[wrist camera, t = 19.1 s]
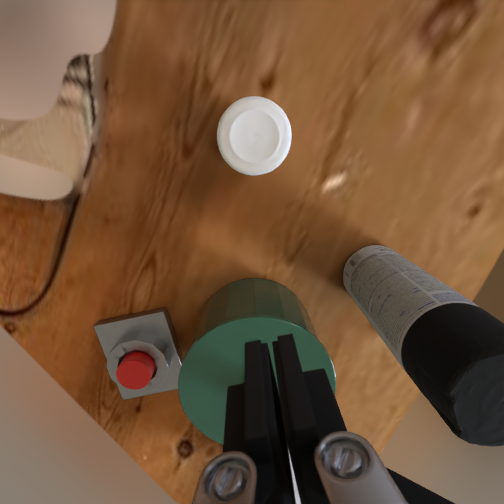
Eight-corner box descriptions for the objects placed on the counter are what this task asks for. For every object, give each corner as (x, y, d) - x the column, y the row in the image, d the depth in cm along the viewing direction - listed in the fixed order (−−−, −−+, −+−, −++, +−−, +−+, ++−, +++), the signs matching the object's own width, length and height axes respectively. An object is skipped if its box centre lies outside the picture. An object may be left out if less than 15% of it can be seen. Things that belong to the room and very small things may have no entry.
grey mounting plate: (97, 320, 38) (85, 334, 35) (166, 306, 37) (159, 319, 35) (126, 393, 41) (117, 411, 38) (189, 380, 40) (185, 397, 37)
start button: (117, 354, 36) (111, 364, 34) (149, 348, 36) (144, 357, 34) (127, 381, 37) (122, 392, 35) (159, 375, 37) (155, 386, 35)
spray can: (350, 308, 38) (456, 466, 19) (332, 255, 36) (431, 370, 17) (407, 288, 37) (577, 430, 18) (392, 233, 36) (564, 327, 16)
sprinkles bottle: (218, 136, 32) (200, 125, 20) (256, 107, 32) (264, 77, 19) (244, 176, 34) (245, 190, 21) (282, 149, 33) (307, 147, 20)
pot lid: (160, 329, 28) (134, 385, 22) (320, 296, 28) (344, 342, 21) (202, 452, 32) (190, 533, 25) (342, 426, 32) (369, 500, 25)
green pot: (186, 291, 37) (167, 336, 28) (298, 267, 36) (316, 305, 27) (214, 384, 41) (205, 452, 31) (316, 364, 40) (337, 426, 31)
